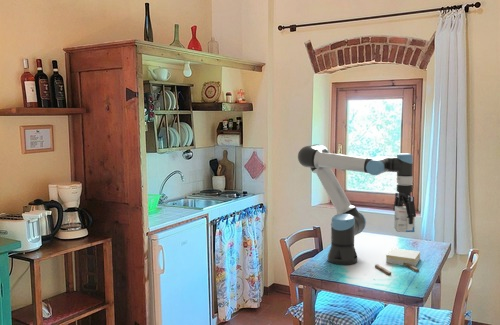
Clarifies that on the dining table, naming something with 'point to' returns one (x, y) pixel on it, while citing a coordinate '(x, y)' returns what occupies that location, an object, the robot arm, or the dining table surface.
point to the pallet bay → (390, 272)
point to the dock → (403, 256)
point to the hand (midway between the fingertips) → (404, 227)
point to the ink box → (401, 219)
